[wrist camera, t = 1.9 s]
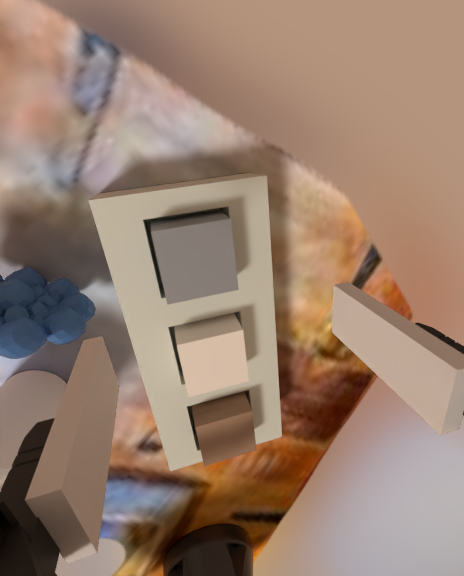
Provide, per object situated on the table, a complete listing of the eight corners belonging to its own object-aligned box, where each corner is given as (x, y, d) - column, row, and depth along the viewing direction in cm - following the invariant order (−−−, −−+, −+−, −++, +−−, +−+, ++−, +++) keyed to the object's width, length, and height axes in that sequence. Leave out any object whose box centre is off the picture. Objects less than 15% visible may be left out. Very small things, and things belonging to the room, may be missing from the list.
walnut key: (246, 422, 37) (256, 449, 34) (198, 436, 36) (204, 466, 33) (241, 385, 35) (252, 410, 31) (190, 398, 34) (195, 427, 30)
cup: (39, 344, 31) (-20, 444, 20) (99, 396, 35) (77, 502, 24) (-35, 392, 31) (-134, 517, 20) (34, 438, 35) (-18, 562, 24)
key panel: (267, 407, 42) (281, 436, 38) (168, 436, 40) (170, 471, 35) (248, 172, 29) (266, 175, 25) (98, 193, 27) (88, 200, 22)
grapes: (-47, 302, 27) (-174, 396, 16) (-37, 233, 25) (-173, 288, 15) (90, 331, 31) (59, 420, 21) (107, 273, 29) (83, 339, 19)
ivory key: (238, 357, 33) (248, 381, 29) (184, 370, 32) (188, 397, 28) (232, 309, 30) (243, 329, 27) (173, 322, 29) (176, 345, 26)
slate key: (227, 273, 29) (238, 289, 25) (165, 286, 28) (167, 304, 24) (219, 210, 26) (230, 218, 23) (150, 221, 25) (150, 231, 22)
